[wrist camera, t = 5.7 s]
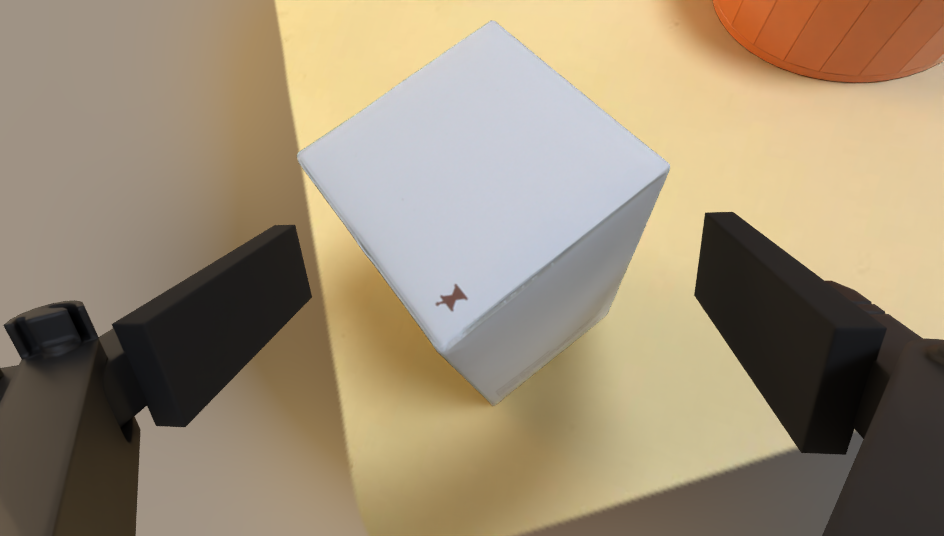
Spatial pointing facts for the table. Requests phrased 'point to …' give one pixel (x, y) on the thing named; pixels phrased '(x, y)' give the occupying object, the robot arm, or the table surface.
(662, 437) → the table surface
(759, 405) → the table surface
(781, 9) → the orange round bowl
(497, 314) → the white packaging box
